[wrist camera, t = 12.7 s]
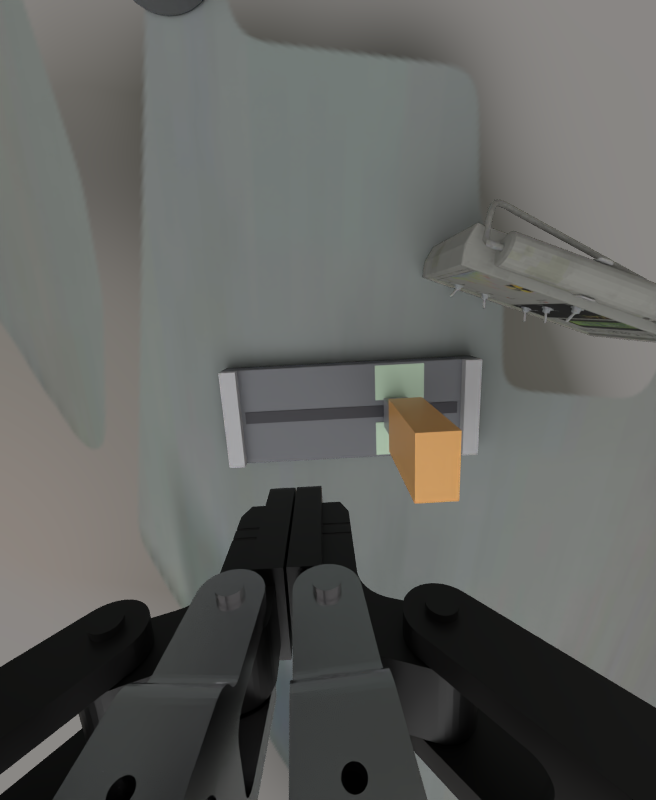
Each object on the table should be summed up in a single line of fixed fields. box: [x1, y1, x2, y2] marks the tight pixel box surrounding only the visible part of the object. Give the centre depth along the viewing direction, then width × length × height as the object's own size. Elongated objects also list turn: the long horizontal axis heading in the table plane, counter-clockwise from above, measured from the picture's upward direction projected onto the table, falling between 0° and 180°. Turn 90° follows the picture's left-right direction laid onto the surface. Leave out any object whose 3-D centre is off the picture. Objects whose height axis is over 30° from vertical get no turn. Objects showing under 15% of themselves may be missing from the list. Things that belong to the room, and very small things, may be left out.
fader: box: [384, 397, 462, 503], centre depth 31 cm, size 3×5×14 cm, turn 3°
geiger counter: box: [422, 200, 656, 342], centre depth 31 cm, size 14×6×25 cm
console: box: [218, 356, 482, 468], centre depth 39 cm, size 26×10×3 cm, turn 93°
